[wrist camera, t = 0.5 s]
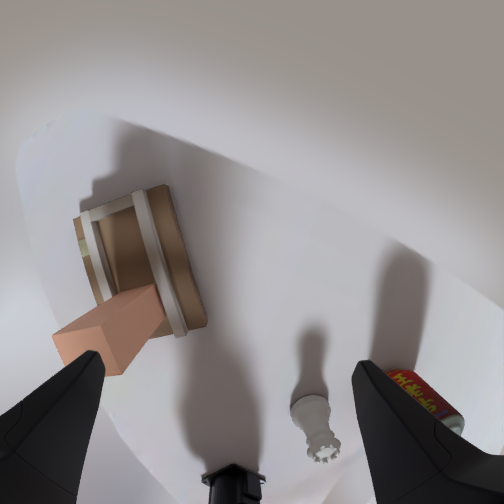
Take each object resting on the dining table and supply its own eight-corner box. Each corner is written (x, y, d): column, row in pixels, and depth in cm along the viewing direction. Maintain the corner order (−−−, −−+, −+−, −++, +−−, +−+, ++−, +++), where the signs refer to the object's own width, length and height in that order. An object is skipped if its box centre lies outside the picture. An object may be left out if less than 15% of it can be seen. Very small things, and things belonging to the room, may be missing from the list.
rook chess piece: (332, 392, 27) (356, 437, 19) (322, 421, 28) (341, 467, 20) (293, 392, 27) (309, 440, 19) (285, 421, 28) (297, 470, 20)
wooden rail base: (207, 320, 26) (204, 331, 23) (118, 340, 26) (108, 350, 23) (168, 186, 24) (160, 182, 22) (80, 219, 24) (66, 219, 22)
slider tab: (167, 314, 24) (121, 374, 13) (130, 322, 24) (71, 379, 13) (157, 282, 24) (100, 325, 13) (119, 292, 24) (51, 335, 13)
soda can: (371, 419, 28) (412, 483, 16) (354, 386, 27) (402, 455, 15) (416, 389, 28) (469, 441, 16) (405, 351, 27) (468, 404, 15)
